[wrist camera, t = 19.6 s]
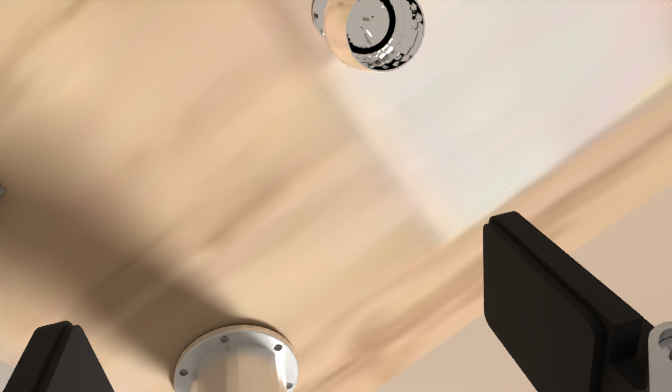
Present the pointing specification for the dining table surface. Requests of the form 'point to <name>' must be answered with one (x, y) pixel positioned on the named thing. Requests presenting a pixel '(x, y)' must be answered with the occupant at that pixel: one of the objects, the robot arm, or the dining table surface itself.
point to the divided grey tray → (2, 190)
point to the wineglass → (371, 31)
